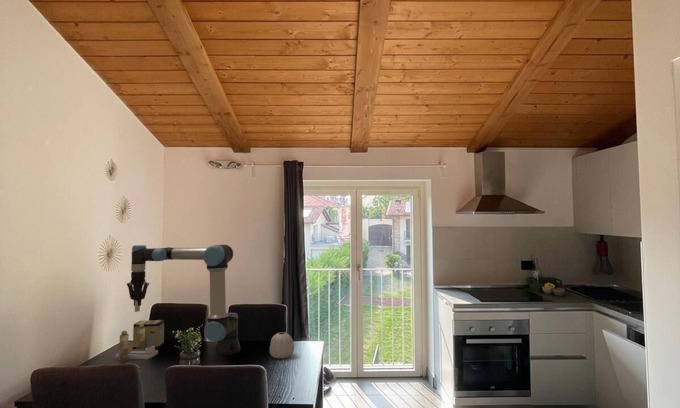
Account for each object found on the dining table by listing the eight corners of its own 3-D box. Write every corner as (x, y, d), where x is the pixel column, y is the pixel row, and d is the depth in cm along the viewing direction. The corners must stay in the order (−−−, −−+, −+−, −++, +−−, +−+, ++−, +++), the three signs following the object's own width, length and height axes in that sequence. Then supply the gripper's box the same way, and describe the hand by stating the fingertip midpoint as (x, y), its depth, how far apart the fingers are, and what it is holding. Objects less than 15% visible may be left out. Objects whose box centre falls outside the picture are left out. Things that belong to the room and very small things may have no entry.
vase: (281, 351, 233) (281, 329, 234) (298, 355, 225) (298, 332, 226) (264, 357, 222) (264, 334, 223) (281, 362, 214) (282, 337, 215)
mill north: (129, 359, 220) (130, 329, 222) (124, 361, 216) (125, 331, 217) (122, 358, 221) (123, 329, 222) (117, 361, 216) (118, 331, 218)
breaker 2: (154, 351, 228) (155, 344, 228) (150, 353, 223) (150, 346, 223) (150, 350, 228) (150, 344, 228) (145, 353, 223) (145, 346, 223)
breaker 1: (132, 350, 229) (132, 343, 229) (126, 353, 224) (127, 346, 224) (127, 350, 229) (127, 343, 230) (121, 352, 224) (122, 346, 225)
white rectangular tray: (158, 353, 230) (158, 349, 230) (148, 359, 220) (148, 354, 220) (126, 352, 232) (126, 348, 232) (115, 358, 222) (115, 353, 222)
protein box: (138, 345, 249) (139, 320, 250) (164, 344, 250) (164, 319, 251) (132, 349, 238) (132, 324, 239) (158, 348, 240) (159, 323, 241)
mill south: (146, 350, 236) (146, 323, 238) (141, 352, 232) (142, 324, 233) (139, 350, 237) (140, 323, 238) (134, 352, 232) (135, 324, 234)
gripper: (152, 270, 233) (151, 310, 231) (131, 270, 234) (130, 310, 232) (145, 271, 226) (143, 312, 224) (123, 271, 227) (122, 312, 225)
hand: (137, 311), depth 228 cm, fingers closed
